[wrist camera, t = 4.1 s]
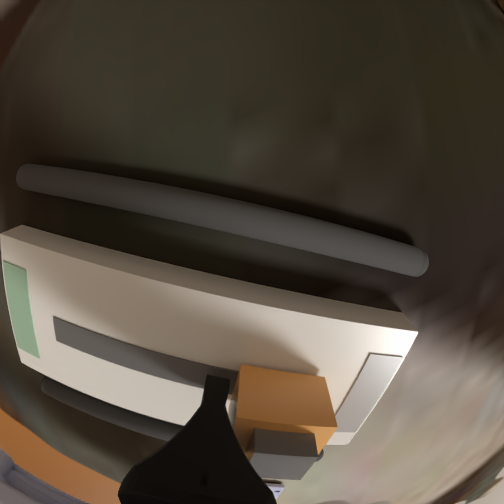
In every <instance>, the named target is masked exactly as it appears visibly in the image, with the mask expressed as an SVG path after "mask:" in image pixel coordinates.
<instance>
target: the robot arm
mask: <svg viewBox="0 0 504 504" xmlns="http://www.w3.org/2000/svg"><path fill="white" fill-rule="evenodd" d="M229 387H230V379H226V378H221V377H216V376H212V375H207V377H206V381H205V386H204V391H203V396H202V401H201V405H200V407H199V408H198V409H197V411H196V412H195V413H194V415H193V416H192V417H191V419H190V420H189V421H188V422H187V423H186V424H185V426H184V427H183V428H182V429H181V430H180V431H179V432H178V433H177V434H176V435H175V436H174V437H173V438H172V439H171V440H169V441H168V442H167V443H166V444H165V445H164V446H162V447H161V448H160V449H158V450H157V451H156V452H154V453H153V454H152V455H150V456H149V457H147V458H146V459H144V460H142V461H141V462H139V463H138V464H136V465H134V466H133V468H132V469H131V470H130V471H129V472H128V474H127V475H126V476H125V478H124V479H123V481H122V483H121V486H120V488H119V491H118V497H119V500H120V502H121V504H277V503H276V499H277V498H278V496H279V495H280V494H281V493H282V492H283V490H284V489H285V486H284V485H283V484H271V483H264V481H263V480H262V479H261V478H260V476H259V475H258V474H257V472H256V471H255V470H254V468H253V466H252V465H251V463H250V462H249V460H248V459H247V457H246V455H245V454H244V452H243V450H242V448H241V446H240V444H239V442H238V440H237V438H236V435H235V433H234V431H233V428H232V425H231V422H230V419H229V416H228V413H227V409H226V401H227V397H228V393H229ZM0 504H89V503H86V502H84V501H81V500H80V499H77V498H75V497H73V496H71V495H69V494H67V493H65V492H63V491H61V490H59V489H57V488H55V487H53V486H51V485H50V484H48V483H46V482H44V481H42V480H41V479H39V478H37V477H35V476H34V475H32V474H30V473H29V472H27V471H26V470H24V469H22V468H21V467H19V466H18V465H16V464H15V463H14V461H13V460H12V458H11V457H10V456H9V455H8V454H7V453H6V452H4V451H3V450H2V449H0Z"/></svg>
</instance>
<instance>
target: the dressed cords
mask: <svg viewBox="0 0 504 504" xmlns="http://www.w3.org/2000/svg"><path fill="white" fill-rule="evenodd" d="M16 182H17V184H18V186H19V187H20V188H21V189H24V190H28V191H34V192H39V193H44V194H49V195H54V196H59V197H64V198H69V199H73V200H78V201H83V202H88V203H93V204H98V205H103V206H107V207H112V208H117V209H122V210H126V211H131V212H136V213H141V214H145V215H150V216H155V217H159V218H164V219H168V220H173V221H178V222H182V223H187V224H191V225H196V226H200V227H205V228H209V229H214V230H218V231H223V232H227V233H232V234H236V235H241V236H245V237H249V238H254V239H258V240H263V241H267V242H271V243H276V244H280V245H284V246H289V247H293V248H297V249H301V250H306V251H310V252H314V253H318V254H323V255H327V256H331V257H335V258H339V259H344V260H348V261H352V262H356V263H360V264H364V265H369V266H373V267H377V268H381V269H385V270H389V271H393V272H397V273H401V274H405V275H409V276H415V277H416V276H420V275H422V274H423V273H424V272H425V271H426V270H427V268H428V264H429V259H428V256H427V254H426V252H425V251H424V250H423V249H421V248H418V247H415V246H412V245H408V244H405V243H402V242H398V241H395V240H392V239H388V238H385V237H381V236H378V235H374V234H371V233H367V232H364V231H360V230H357V229H353V228H349V227H346V226H342V225H338V224H334V223H331V222H327V221H323V220H319V219H315V218H311V217H307V216H303V215H300V214H295V213H291V212H287V211H283V210H279V209H275V208H271V207H267V206H262V205H258V204H254V203H249V202H245V201H240V200H236V199H231V198H227V197H222V196H218V195H213V194H208V193H203V192H199V191H194V190H189V189H184V188H179V187H174V186H169V185H163V184H158V183H153V182H147V181H142V180H136V179H130V178H125V177H119V176H113V175H107V174H101V173H94V172H88V171H81V170H75V169H68V168H61V167H53V166H46V165H38V164H30V163H29V164H24V165H22V166H21V167H20V168H19V170H18V171H17V174H16ZM40 386H41V390H42V391H43V392H44V393H45V394H46V395H48V396H50V397H52V398H54V399H56V400H58V401H60V402H62V403H64V404H67V405H69V406H71V407H73V408H75V409H78V410H80V411H82V412H84V413H87V414H89V415H92V416H94V417H96V418H99V419H102V420H104V421H107V422H109V423H112V424H115V425H118V426H120V427H123V428H126V429H129V430H132V431H135V432H138V433H141V434H145V435H148V436H151V437H155V438H158V439H162V440H165V441H169V440H171V439H172V438H173V437H174V436H175V435H176V434H177V433H178V432H179V431H180V430H181V429H182V428H183V427H184V426H182V425H178V424H174V423H170V422H166V421H163V420H159V419H155V418H152V417H149V416H145V415H142V414H139V413H136V412H133V411H130V410H127V409H124V408H121V407H118V406H115V405H112V404H110V403H107V402H104V401H102V400H99V399H97V398H94V397H92V396H89V395H87V394H84V393H82V392H80V391H77V390H75V389H73V388H70V387H68V386H66V385H64V384H62V383H60V382H57V381H55V380H53V379H51V378H44V379H43V380H42V381H41V384H40ZM323 453H324V452H323V449H322V450H321V452H320V453H319V454H318V458H317V459H316V461H318V460H320V459H321V458H322V456H323ZM316 461H315V462H316Z"/></svg>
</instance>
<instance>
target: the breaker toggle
mask: <svg viewBox="0 0 504 504" xmlns="http://www.w3.org/2000/svg"><path fill="white" fill-rule="evenodd" d="M228 416H229V419H230V422H231V425H232V428H233V431H234V433H235V435H236V438H237V440H238V442H239V444H240V446H241V448H242V450H243V452H244V454H245V455H246V457H247V459H248V460H249V462H250V463H251V465H252V466H253V468H254V470H255V471H256V472H257V474H258V475H259V476H260V477H261V478H273V479H291V480H300V479H301V478H302V477H303V476H304V475H305V473H306V472H307V471H308V470H309V468H310V467H311V466H312V465H313V463H314V462H315V461H316V459H317V458H318V454H319V453H320V452H321V450H322V449H323V448H324V446H325V445H326V444H327V442H328V441H329V439H330V438H331V437H332V435H333V434H334V432H335V431H336V429H337V428H338V426H337V422H336V418H335V414H334V410H333V406H332V402H331V398H330V395H329V391H328V387H327V383H326V379H325V377H321V376H313V375H305V374H298V373H291V372H284V371H278V370H271V369H266V368H260V367H254V366H249V365H243V364H241V365H240V369H239V373H238V376H237V380H236V383H235V387H234V390H233V393H232V397H231V400H230V404H229V409H228Z"/></svg>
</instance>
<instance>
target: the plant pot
mask: <svg viewBox="0 0 504 504" xmlns="http://www.w3.org/2000/svg"><path fill="white" fill-rule="evenodd" d="M497 1H498V3H499V5H500V6H501V8H502V10H503V11H504V0H497Z"/></svg>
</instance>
